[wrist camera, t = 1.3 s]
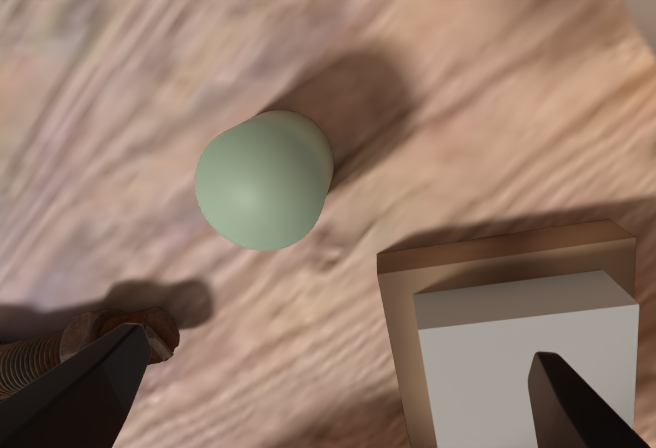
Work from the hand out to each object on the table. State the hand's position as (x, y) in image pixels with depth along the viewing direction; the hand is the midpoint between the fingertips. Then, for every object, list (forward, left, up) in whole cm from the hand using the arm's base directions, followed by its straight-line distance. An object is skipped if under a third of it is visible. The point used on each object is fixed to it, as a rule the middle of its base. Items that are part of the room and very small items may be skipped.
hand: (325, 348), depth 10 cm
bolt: (-20, -7, -14) cm, 25 cm away
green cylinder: (-3, +2, -14) cm, 14 cm away
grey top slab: (+7, -10, -11) cm, 17 cm away
